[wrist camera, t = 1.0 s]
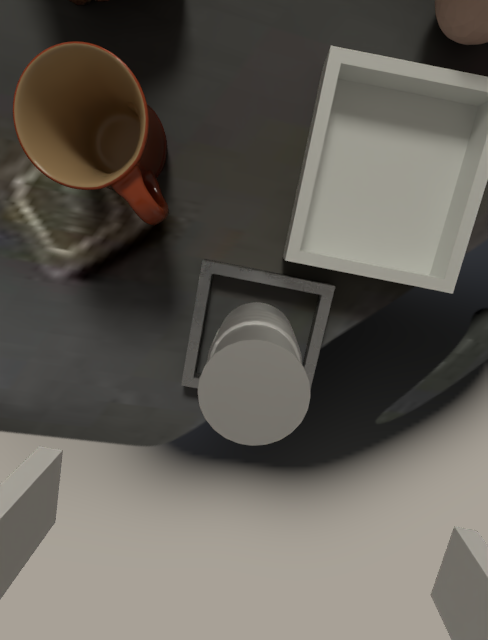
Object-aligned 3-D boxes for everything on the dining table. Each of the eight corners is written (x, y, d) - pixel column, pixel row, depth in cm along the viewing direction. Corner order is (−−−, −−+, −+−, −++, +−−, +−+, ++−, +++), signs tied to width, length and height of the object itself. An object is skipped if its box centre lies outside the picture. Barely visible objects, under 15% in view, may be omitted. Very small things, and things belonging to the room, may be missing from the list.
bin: (282, 257, 38) (285, 260, 34) (322, 66, 34) (330, 45, 30) (432, 287, 38) (452, 293, 34) (487, 99, 34) (517, 82, 30)
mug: (60, 134, 36) (-16, 97, 26) (140, 73, 35) (91, 9, 25) (140, 250, 38) (97, 256, 28) (219, 195, 37) (203, 182, 27)
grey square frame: (184, 379, 41) (181, 385, 39) (204, 259, 38) (202, 260, 37) (303, 403, 41) (305, 409, 39) (332, 284, 38) (335, 286, 37)
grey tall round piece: (230, 288, 38) (212, 323, 24) (301, 309, 39) (327, 357, 24) (211, 356, 40) (182, 428, 25) (280, 376, 40) (291, 459, 25)
